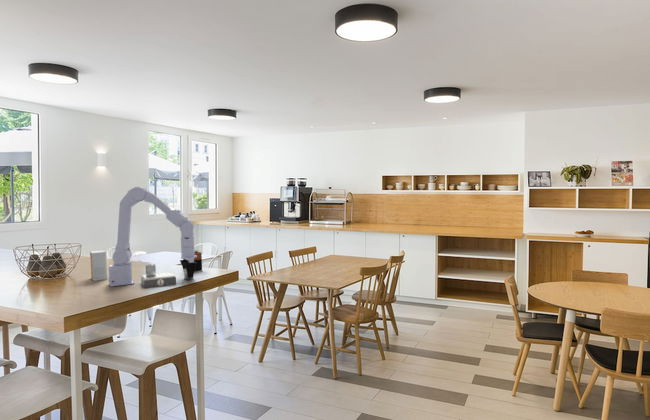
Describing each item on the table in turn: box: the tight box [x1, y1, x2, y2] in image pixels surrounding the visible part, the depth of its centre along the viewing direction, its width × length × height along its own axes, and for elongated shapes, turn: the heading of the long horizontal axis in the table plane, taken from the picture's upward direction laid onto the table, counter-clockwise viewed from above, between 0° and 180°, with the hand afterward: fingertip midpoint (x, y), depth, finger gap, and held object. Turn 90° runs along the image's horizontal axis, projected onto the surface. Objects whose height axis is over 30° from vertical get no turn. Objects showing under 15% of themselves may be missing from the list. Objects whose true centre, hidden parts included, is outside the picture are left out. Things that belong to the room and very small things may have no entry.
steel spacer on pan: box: [145, 263, 157, 277], centre depth 195 cm, size 4×4×5 cm
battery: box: [194, 250, 203, 272], centre depth 226 cm, size 4×7×10 cm, turn 141°
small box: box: [89, 249, 108, 282], centre depth 211 cm, size 8×6×13 cm
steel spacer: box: [183, 268, 194, 281], centre depth 205 cm, size 4×4×5 cm
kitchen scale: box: [140, 272, 177, 289], centre depth 196 cm, size 13×12×4 cm
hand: (188, 276), depth 205 cm, fingers open, 7 cm apart
